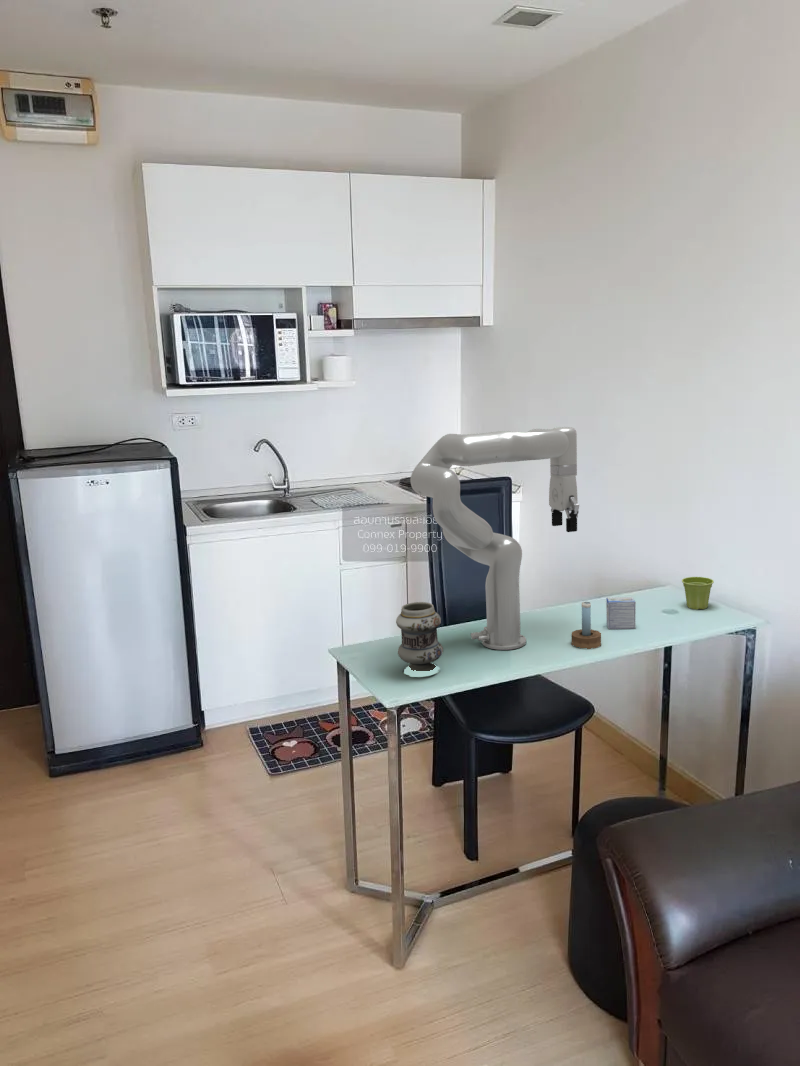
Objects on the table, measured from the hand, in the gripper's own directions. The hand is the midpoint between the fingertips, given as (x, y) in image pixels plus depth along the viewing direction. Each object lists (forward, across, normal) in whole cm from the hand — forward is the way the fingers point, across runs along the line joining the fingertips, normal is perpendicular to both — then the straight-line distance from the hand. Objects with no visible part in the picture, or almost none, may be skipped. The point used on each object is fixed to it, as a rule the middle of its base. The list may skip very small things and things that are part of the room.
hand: (564, 528), depth 237 cm
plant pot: (+31, -2, +46) cm, 55 cm away
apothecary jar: (+31, +18, -50) cm, 61 cm away
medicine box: (+31, +6, +15) cm, 35 cm away
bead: (+30, +16, -1) cm, 34 cm away
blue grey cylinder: (+30, +16, -1) cm, 34 cm away
